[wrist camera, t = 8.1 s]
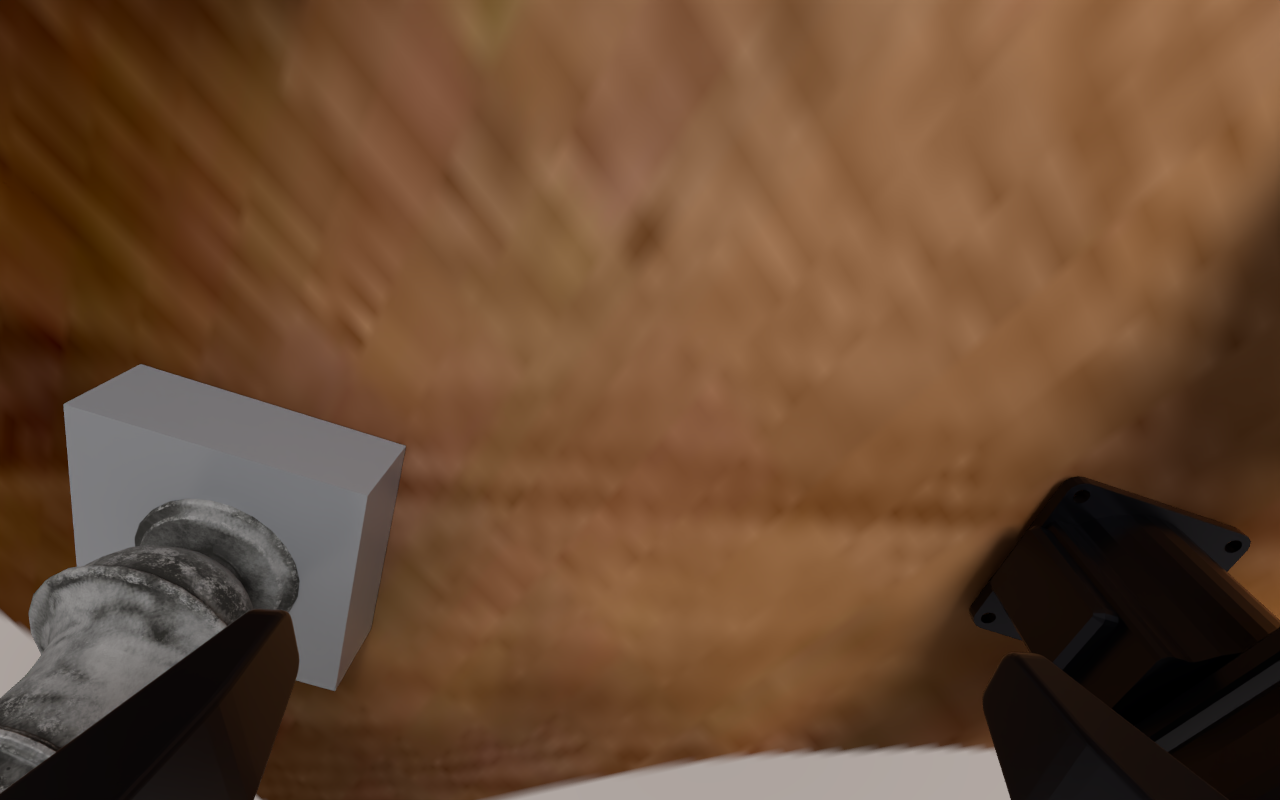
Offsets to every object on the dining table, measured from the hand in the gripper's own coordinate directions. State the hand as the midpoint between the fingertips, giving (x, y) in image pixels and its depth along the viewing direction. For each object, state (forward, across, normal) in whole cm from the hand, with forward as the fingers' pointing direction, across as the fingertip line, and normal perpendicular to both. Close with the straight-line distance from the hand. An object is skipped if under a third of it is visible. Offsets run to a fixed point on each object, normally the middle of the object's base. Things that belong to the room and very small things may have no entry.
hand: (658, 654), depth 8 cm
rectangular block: (+14, +12, +10) cm, 21 cm away
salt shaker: (+11, +13, +10) cm, 19 cm away
